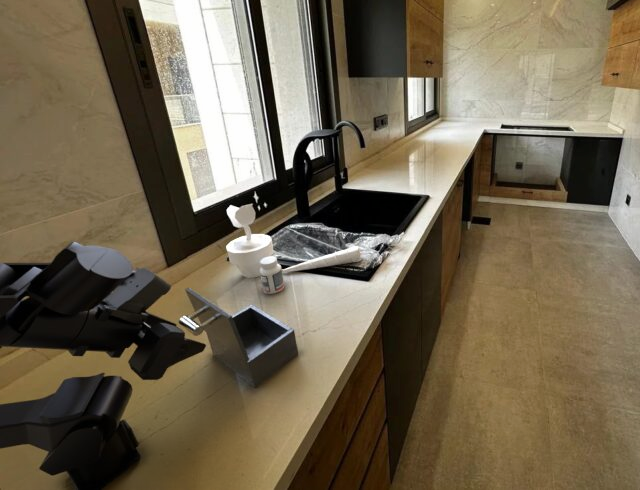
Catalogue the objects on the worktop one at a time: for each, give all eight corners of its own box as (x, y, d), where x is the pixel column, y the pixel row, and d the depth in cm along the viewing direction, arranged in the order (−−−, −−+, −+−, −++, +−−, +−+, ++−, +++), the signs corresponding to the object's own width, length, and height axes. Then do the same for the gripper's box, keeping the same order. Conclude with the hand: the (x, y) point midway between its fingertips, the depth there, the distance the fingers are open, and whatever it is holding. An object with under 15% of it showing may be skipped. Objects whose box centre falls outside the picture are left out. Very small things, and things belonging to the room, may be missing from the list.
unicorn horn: (280, 266, 98) (278, 252, 97) (360, 256, 105) (359, 243, 103) (278, 275, 94) (276, 260, 92) (361, 264, 100) (360, 250, 99)
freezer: (256, 326, 75) (251, 304, 72) (298, 353, 68) (294, 329, 65) (213, 354, 67) (205, 330, 65) (254, 388, 60) (248, 362, 58)
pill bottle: (285, 281, 91) (280, 253, 88) (284, 292, 87) (278, 263, 84) (264, 284, 90) (258, 256, 87) (262, 296, 85) (256, 266, 82)
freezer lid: (188, 287, 60) (160, 302, 57) (231, 316, 53) (203, 335, 50) (206, 328, 65) (182, 344, 62) (249, 359, 58) (224, 380, 54)
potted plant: (284, 271, 96) (270, 191, 87) (242, 289, 88) (222, 202, 79) (265, 256, 104) (250, 181, 95) (225, 271, 96) (205, 191, 87)
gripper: (145, 285, 39) (248, 308, 52) (86, 248, 48) (187, 275, 61) (82, 382, 36) (210, 380, 49) (31, 323, 45) (151, 335, 57)
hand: (189, 337), depth 54 cm, fingers open, 9 cm apart
